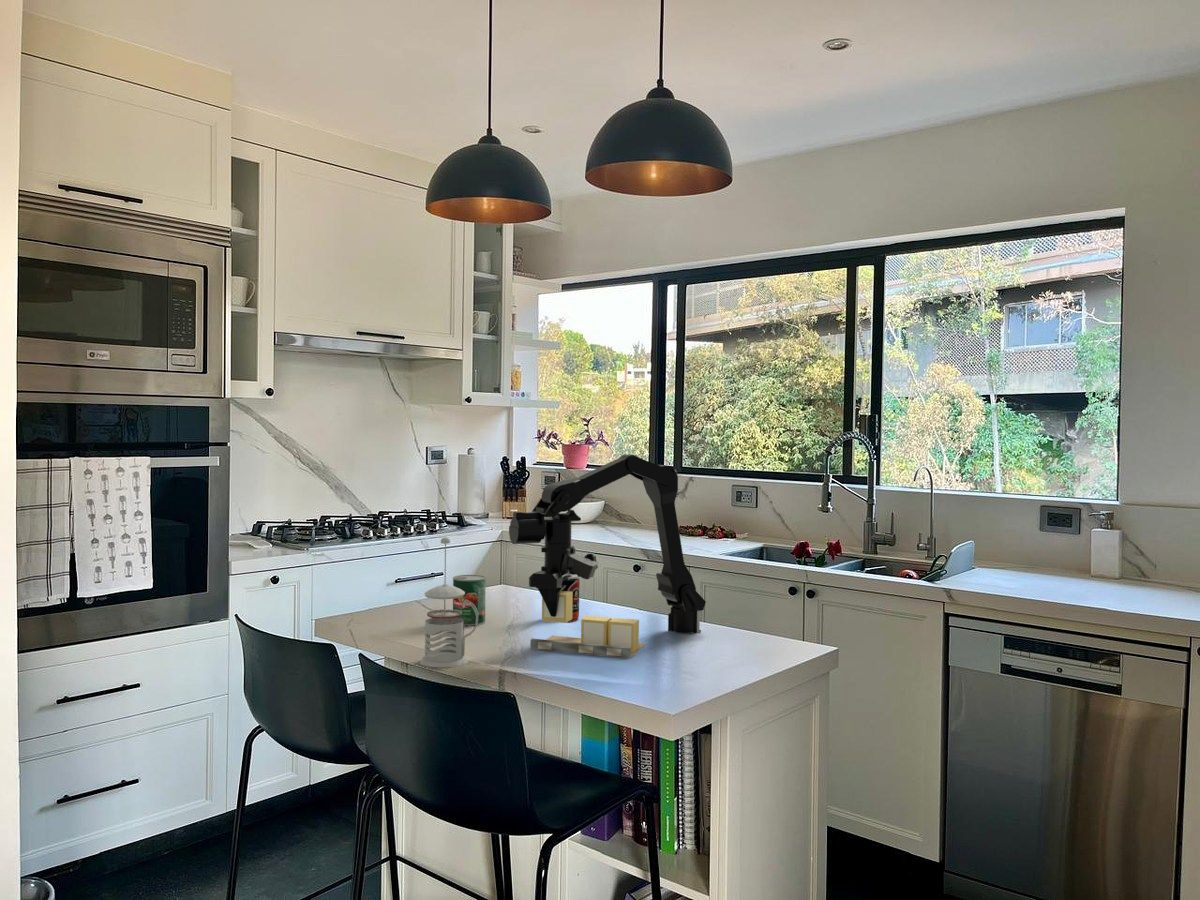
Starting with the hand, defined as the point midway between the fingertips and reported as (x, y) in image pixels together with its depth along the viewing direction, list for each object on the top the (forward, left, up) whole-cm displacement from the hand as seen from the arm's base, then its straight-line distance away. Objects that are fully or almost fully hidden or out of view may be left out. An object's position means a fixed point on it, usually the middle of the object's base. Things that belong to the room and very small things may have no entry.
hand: (557, 614), depth 191 cm
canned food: (+9, -28, -7) cm, 30 cm away
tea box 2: (-15, 0, -6) cm, 16 cm away
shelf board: (-7, +1, -7) cm, 10 cm away
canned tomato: (+29, -16, -7) cm, 34 cm away
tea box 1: (-9, 0, -6) cm, 11 cm away
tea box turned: (0, 0, -1) cm, 1 cm away
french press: (+17, +18, -7) cm, 26 cm away
